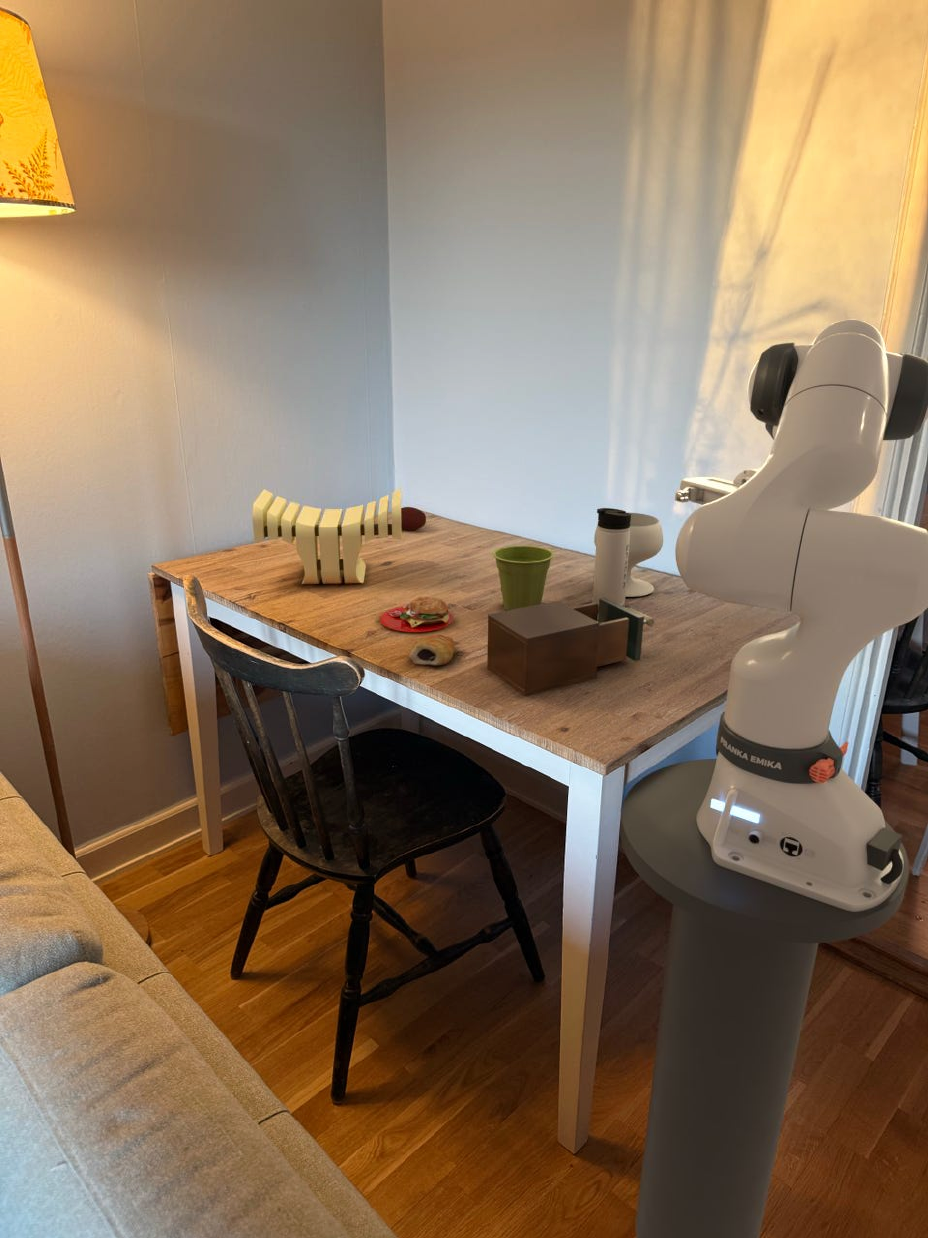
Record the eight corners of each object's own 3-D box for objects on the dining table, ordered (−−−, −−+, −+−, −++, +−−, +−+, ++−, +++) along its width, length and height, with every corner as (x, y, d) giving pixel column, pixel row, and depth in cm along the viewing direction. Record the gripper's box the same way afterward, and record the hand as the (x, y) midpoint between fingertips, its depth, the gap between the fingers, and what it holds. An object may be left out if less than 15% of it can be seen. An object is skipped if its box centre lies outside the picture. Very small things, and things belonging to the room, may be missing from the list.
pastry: (427, 643, 146) (427, 623, 145) (463, 648, 144) (464, 628, 143) (407, 664, 138) (407, 643, 136) (445, 670, 136) (445, 648, 134)
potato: (411, 524, 223) (411, 502, 221) (431, 530, 216) (431, 508, 214) (388, 528, 218) (388, 506, 216) (409, 535, 212) (408, 512, 210)
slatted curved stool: (259, 589, 173) (251, 506, 166) (270, 566, 187) (264, 489, 181) (402, 587, 174) (400, 504, 168) (403, 564, 189) (400, 487, 183)
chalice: (654, 603, 166) (661, 530, 160) (585, 595, 170) (589, 524, 164) (662, 582, 178) (668, 514, 172) (597, 575, 182) (602, 508, 177)
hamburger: (439, 603, 165) (438, 574, 163) (464, 627, 153) (464, 597, 151) (371, 612, 161) (370, 582, 158) (391, 638, 148) (390, 606, 146)
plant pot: (556, 600, 167) (558, 547, 163) (545, 621, 156) (548, 564, 152) (499, 595, 170) (500, 542, 166) (485, 615, 159) (486, 559, 155)
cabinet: (554, 652, 143) (557, 600, 139) (596, 678, 133) (599, 622, 130) (487, 668, 136) (487, 614, 133) (525, 696, 127) (526, 638, 123)
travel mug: (585, 604, 165) (591, 506, 158) (615, 600, 167) (622, 503, 160) (599, 614, 160) (605, 513, 152) (629, 611, 161) (637, 511, 154)
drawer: (621, 634, 148) (624, 593, 145) (660, 655, 139) (664, 612, 137) (543, 652, 140) (544, 609, 138) (579, 675, 132) (582, 630, 129)
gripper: (715, 466, 153) (657, 473, 147) (805, 487, 136) (744, 496, 130) (711, 499, 155) (654, 507, 149) (799, 524, 139) (739, 534, 132)
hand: (697, 502), depth 139 cm, fingers open, 8 cm apart
